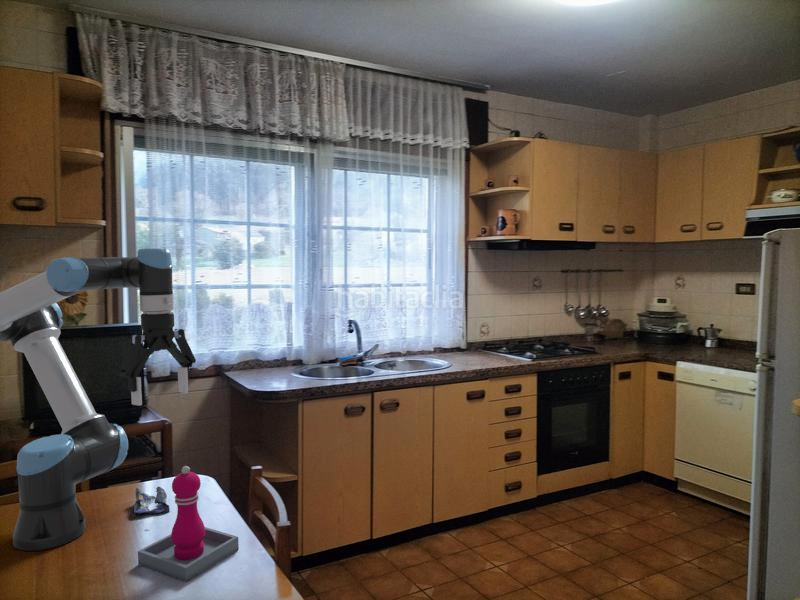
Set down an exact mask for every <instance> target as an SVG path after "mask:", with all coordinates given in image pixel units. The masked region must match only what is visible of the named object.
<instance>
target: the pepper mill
mask: <svg viewBox="0 0 800 600" xmlns="http://www.w3.org/2000/svg"><path fill="white" fill-rule="evenodd" d="M201 484H202V483H201V478H200V476H199V475H198V474H197V473H195V472H192V471H191V468H190V467H189V466H187V465H184V466H182V468H181V473H179V474H177V475H176V476H175V477H174V479H173V480H172V484H171V490H172V492H173V493H174V494H175V496H174V503H175V504H176V506H177V507H176V508H177V514H176V519H175V521H174V524H173V527H172V528H171V533H170V534H171V540H172V542H173V544H174V545H176V546H175V547H174V556H175V558H176V559H179V560H190V559H194V558H196V557H198V556H200V555H201V554H202V553H203V552H204V543H203V542H202V540H203V538H204V537H205V533H206V532H205V527H206V526H205V524H204V522H203V520H202V517H201V515H200V513H199V511H198V501H199V500H200V497H199V492H198V491H200V488H201V486H202V485H201Z"/></svg>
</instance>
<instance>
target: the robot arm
mask: <svg viewBox="0 0 800 600" xmlns="http://www.w3.org/2000/svg"><path fill="white" fill-rule="evenodd" d="M173 285H174V283H173V260H172V254H171V251H170V250H169V249H168V248H140V249H138V250H137V255H136V257H134V256H133V257H130V256H128V257H126V256H125V257H124V256H122V257H121V256H111V257H106V256H105V257H78V256H77V257H74V256H66V257H58V258H55V259H52V260H51V261H50V264H49V265H48V266H47V269H46V271H44V272H41V273H39V274H37V275H35V276H33V277H30V278H28V279H27V280H25V281H22V282H19V283H18V284H15V285H14V286H12V287H9V288H8V289H5V290H3V291H0V342H6V341H9V342H10V343H11V345H12V347H13V349H14V350H15V351H16V352H19V353H23V354H24V356H25V358H26V361H27V362H28V364H29V366H30V368H31V370H32V371H33V374H34V375H35V378H36V380H37V381H38V383H39V386H40V387H41V390H42V391H43V393H44V395H45V397H46V399H47V401H48V404H49V406H50V407H51V409H52V411H53V413H54V415H55V417H56V419H57V421H58V423H59V425H60V427H61V429H62V430H61V433H59V434H52V435H51V434H50V436H42V437H41V438H37V439H35V440H32V441H31V442H28V443H26V444H25V445H23V446H22V447H21V448H20V449H19V451H18V453H17V456H16V458H17V459H16V469H15V470H16V472H17V483H18V485H17V486H18V497H19V498H18V499H19V500H18V501H19V512H18V517H17V520H16V523H15V527H14V530H13V534H12V544H13V545H12V546H13V547H14V548H15V549H17V550H20V551H27V552H29V551H30V552H32V551H33V552H34V551H36V552H37V551H42V550H47V549H53V548H56V547H60V546H63V545H65V544H69V543H70V542H72V541H74V540H76V539H78V538H79V537H80V536H82V535H83V534H84V533H85V531H86V530H87V528H86V518H85V515H84V513H83V511H82V509H81V507H80V505H79V502H78V500H77V496H76V493H77V492H76V485H77V484H80V483H83V482H85V481H86V480H89V479H92V478H95V477H96V476H99V475H102V474H105V473H108V472H110V471H112V470H113V469H115V468H117V467H119V466H121V465H122V463H124V461H125V459H126V458H127V455H128V450H129V440H128V436H127V433H126V432H125V430H124V428H123V427H122V426H120V425H118V424H117V423H109V421H108V419H107V417H106V416H105V414H100V413H97V412H96V410H95V408H94V405H93V404H92V402H91V400H90V398H89V397H88V395H87V392H86V390H85V389H84V387H83V385H82V383H81V381H80V379H79V378H78V375H77V373H76V372H75V370H74V368H73V365H72V364H71V361H70V360H69V358H68V356H67V354H66V352H65V350H64V349H63V346H62V344H61V343H60V341H59V338H60V335H61V334H62V332H61V328H62V326H63V323H64V321H63V319H62V318H63V312H62V310H61V307H60V306H59V304H58V303H59V302H60V301H62V300H65V299H67V298H70V297H72V296H75V295H76V294H77V295H78V294H79V293H82V292H84V291H94V290H109V289H110V290H111V289H123V288H124V289H125V288H126V289H130V288H136V289H137V288H138V289H139V290H138V291H139V292H138V293H139V311H140V312H142V313H141V315H140V327H141V328H140V329H142V335H140V334H131V335H130V337H129V338H130V340H129V346H128V349H127V350H126V351H127V352H126V355H125V356H124V359H123V361H122V364H121V365H122V366H121V367H120V371H119V373H118V374H119V376H120V377H125V378H127V385H128V386H127V387H128V388H127V389H128V392H129V393H130V395H131V398H130V399H131V405H133V406H139V407H140V406H143V393H142V377H141V376H139V374H140V373H141V372H142V370H143V368H144V366H145V365H146V363H147V362H148V360H149V358H150V357H151V355H152V354H154V353H155V352H160V351H163V350H164V351H167V352H168V353H169V354H170V355H171V357H173V358H174V360H175V361H176V362H177V363H178V364H179V365H180V366H177V383H178V387H177V388H178V393H180V394H188V393H189V379H190V368H192V366H193V364H195V363H196V358H195V356H194V354H193V351H192V349H191V347H190V345H189V343H188V341H187V339H186V336H185V335H186V334H185V330H184V329H183V328H174V327H175V313H174V312H172V311H173V310H174V308H175V306H174V305H175V304H174V291H173V288H174V287H173Z"/></svg>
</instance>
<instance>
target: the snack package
mask: <svg viewBox="0 0 800 600" xmlns="http://www.w3.org/2000/svg"><path fill="white" fill-rule="evenodd" d="M155 488H156V489H155V491H156V496H154V495H149V494H148V493H145V492H143V491H142V490H141V489H139V488H138V487H136V488H135V498H136V499H135V503H134V505H133V513H134V515H135V516H139V515H142V514H147V513H148V514H150V515H151V516H154V515H159V516H160V515H163V514H166V513H169V512H170V511H171V510H170V505H168V504H167V498H168V494H167V492H166V491H165V489H164V488H163V487H161V486H157V487H155ZM152 503H154V504H155V506H154V508H153V509H149V507H150V505H152Z"/></svg>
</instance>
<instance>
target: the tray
mask: <svg viewBox="0 0 800 600" xmlns="http://www.w3.org/2000/svg"><path fill="white" fill-rule="evenodd" d="M205 532H206V533H205V537H204V538H203V540H202V542H203V543H204V552H203V553H202V554H201V555H200V556H198V557H196V558H194V559H190V560H179V559H176V558H175V556H174V547H175V546H176V545H174V544H173V542H172V540H171V533H170V534H169V535H166V536H164V537H163V538H161V539H158V540H157V541H155V542H153V543H151V544H149V545H147V546H145V547H143V548H142V549H141V548H140V549H139V550H138V551H137V561H138V565H139V566H140V567H144V568H147V569H150V570H153V571H155V572H158V573H161V574H164V575H167V576H169V577H172V578H175V579H177V580H180V581H182V582H186V583H187V582H188V581H190V580H192V579H194V578H195V577H197V576H198V575H200V574H202V573H203V572H205V571H206V570H209V567H210V568H212V567H213V566H215V565H216V564H217V562H218V563H219V562H221V561H222V560H224V559H226V558H227V557H229V556H230V554H231V555H232V554H234V553H235V552H237V551H238V550H237V549H240V548H239V545H240V544H239V536H237V535H233V534H231V533H226V532H224V531H221V530H216V529H213V528H210V527H206V526H205ZM236 550H237V551H236ZM234 551H235V552H234ZM233 552H234V553H233ZM228 555H229V556H228ZM225 557H226V558H225ZM215 563H216V564H215Z"/></svg>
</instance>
